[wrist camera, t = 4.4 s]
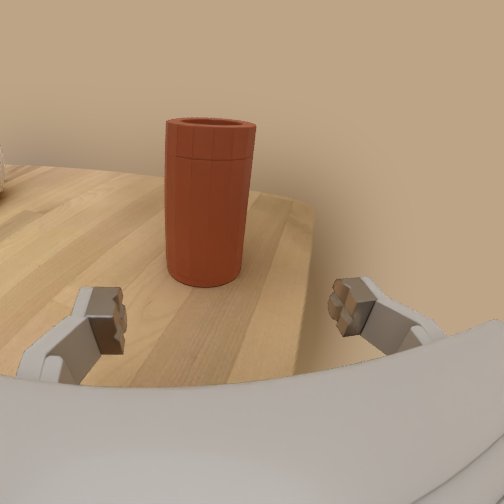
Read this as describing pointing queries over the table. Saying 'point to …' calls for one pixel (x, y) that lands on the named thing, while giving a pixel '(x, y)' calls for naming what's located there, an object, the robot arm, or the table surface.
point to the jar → (206, 197)
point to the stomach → (1, 169)
